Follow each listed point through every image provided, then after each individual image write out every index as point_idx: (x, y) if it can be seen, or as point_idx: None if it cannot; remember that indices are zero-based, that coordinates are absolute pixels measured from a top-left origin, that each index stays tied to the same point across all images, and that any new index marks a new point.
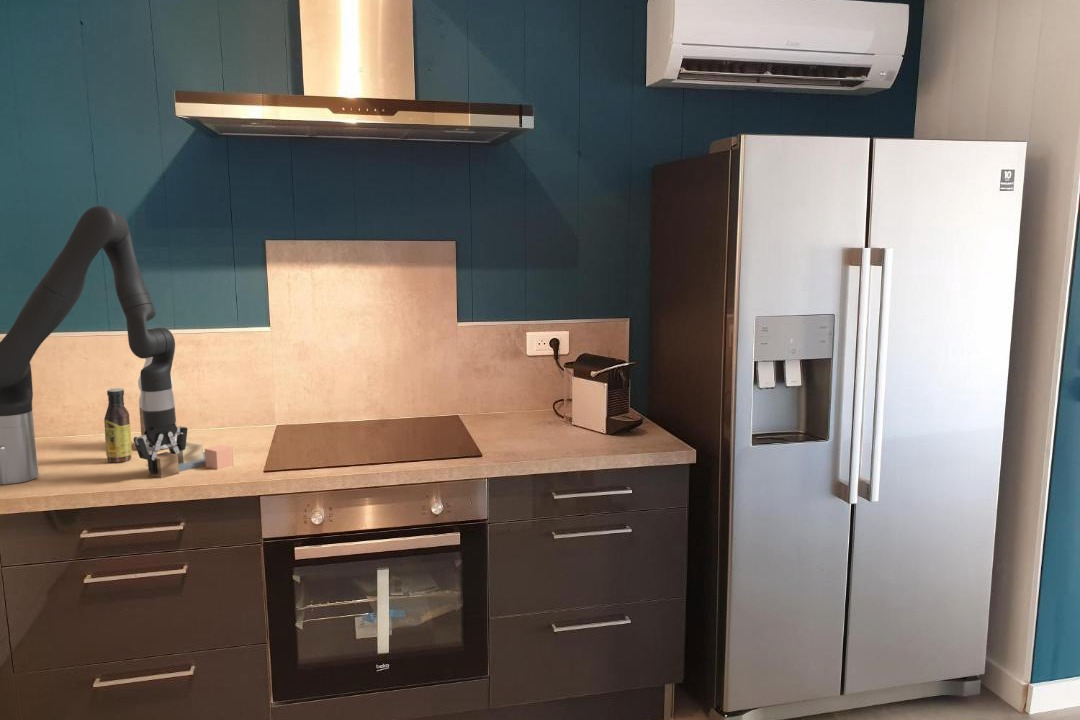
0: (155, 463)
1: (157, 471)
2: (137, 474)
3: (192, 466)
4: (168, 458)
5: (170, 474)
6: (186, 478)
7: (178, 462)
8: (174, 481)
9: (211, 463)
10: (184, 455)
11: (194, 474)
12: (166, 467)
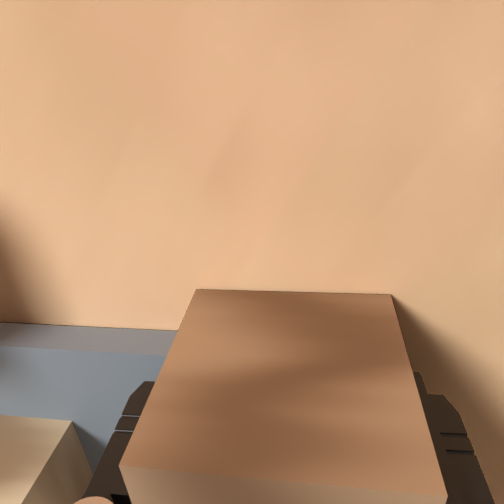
0: None
1: None
2: None
3: (35, 334)
4: (289, 456)
5: (287, 298)
6: (240, 63)
7: (133, 405)
8: (408, 66)
9: None
10: (19, 482)
11: (102, 140)
12: (328, 360)
